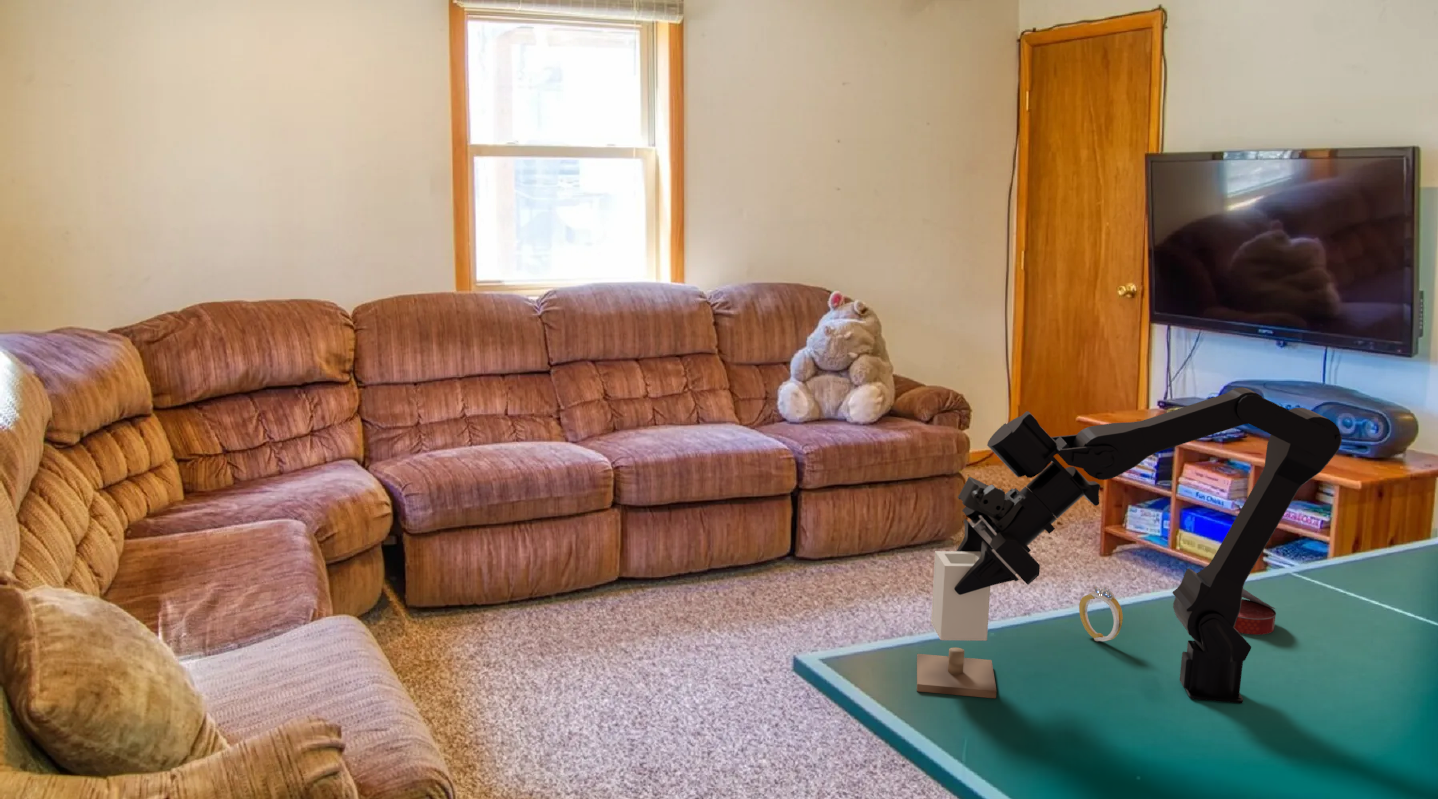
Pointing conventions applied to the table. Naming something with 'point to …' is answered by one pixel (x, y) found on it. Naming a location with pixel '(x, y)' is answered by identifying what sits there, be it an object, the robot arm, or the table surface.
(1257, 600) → the canned food
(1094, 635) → the ring
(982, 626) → the sleeve
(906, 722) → the table surface
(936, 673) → the post stand
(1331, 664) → the table surface
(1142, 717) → the table surface
